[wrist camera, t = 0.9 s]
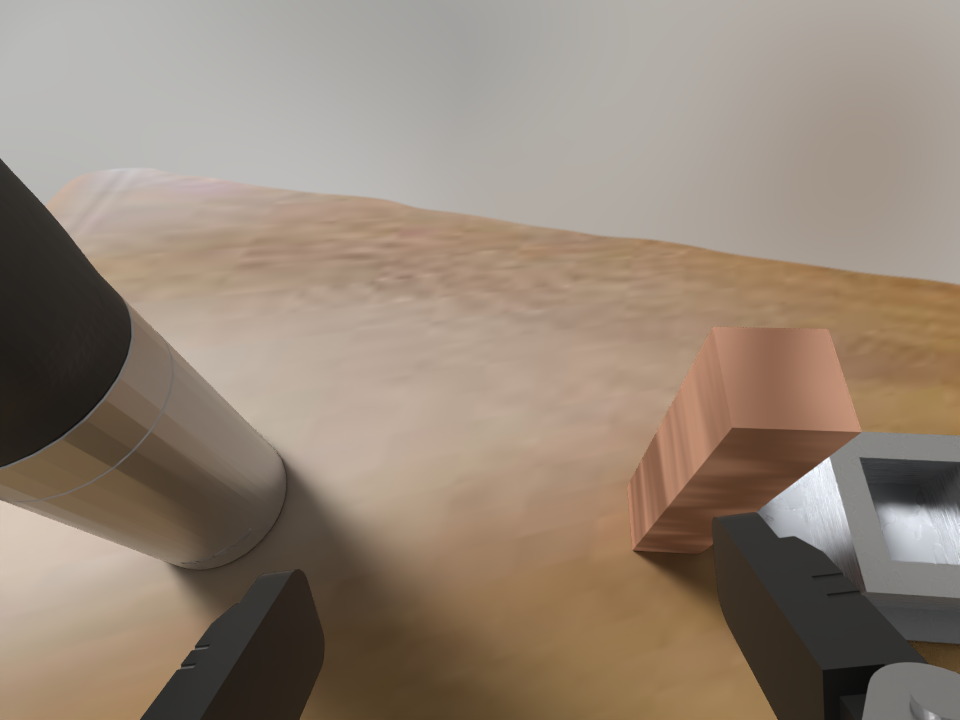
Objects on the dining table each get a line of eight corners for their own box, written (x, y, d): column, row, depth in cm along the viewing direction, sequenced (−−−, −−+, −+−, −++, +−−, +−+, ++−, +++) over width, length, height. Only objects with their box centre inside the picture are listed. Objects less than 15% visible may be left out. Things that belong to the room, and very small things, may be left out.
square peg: (632, 550, 33) (732, 427, 18) (627, 486, 35) (712, 327, 20) (700, 554, 33) (861, 432, 17) (690, 489, 35) (828, 329, 19)
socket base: (759, 631, 31) (798, 621, 27) (726, 436, 37) (752, 403, 33) (1067, 654, 29) (1160, 647, 25) (978, 447, 36) (1040, 413, 31)
